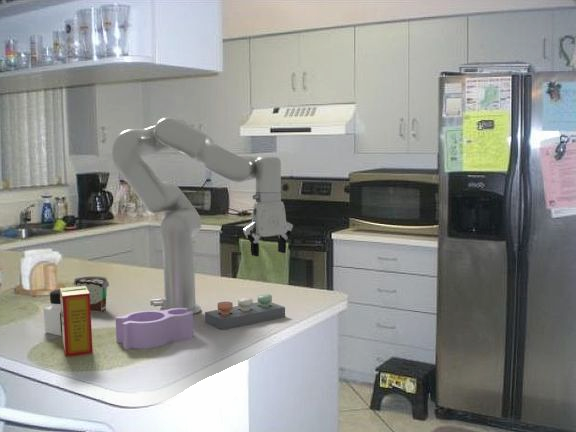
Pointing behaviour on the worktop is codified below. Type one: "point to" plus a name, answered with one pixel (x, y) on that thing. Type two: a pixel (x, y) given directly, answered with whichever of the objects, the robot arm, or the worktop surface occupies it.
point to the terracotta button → (225, 308)
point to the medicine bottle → (53, 314)
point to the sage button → (264, 300)
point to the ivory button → (245, 304)
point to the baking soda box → (76, 320)
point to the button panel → (244, 316)
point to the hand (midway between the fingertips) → (268, 253)
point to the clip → (154, 327)
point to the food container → (95, 291)
